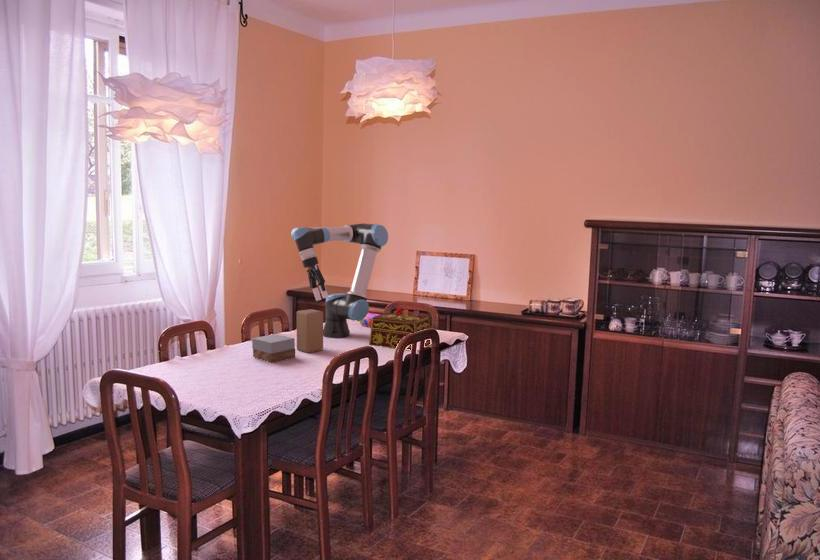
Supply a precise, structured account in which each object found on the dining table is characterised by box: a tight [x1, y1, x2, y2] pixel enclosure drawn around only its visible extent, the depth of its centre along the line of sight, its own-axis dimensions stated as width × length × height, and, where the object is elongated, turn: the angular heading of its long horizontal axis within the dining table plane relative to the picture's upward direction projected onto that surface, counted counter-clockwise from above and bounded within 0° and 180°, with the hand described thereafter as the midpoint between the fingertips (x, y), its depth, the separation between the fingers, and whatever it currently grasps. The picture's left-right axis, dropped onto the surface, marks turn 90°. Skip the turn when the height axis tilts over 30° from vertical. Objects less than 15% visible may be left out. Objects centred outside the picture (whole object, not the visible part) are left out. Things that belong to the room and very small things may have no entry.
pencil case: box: [359, 311, 380, 328], centre depth 389 cm, size 22×9×9 cm, turn 43°
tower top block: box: [251, 333, 296, 354], centre depth 313 cm, size 14×14×5 cm
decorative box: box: [368, 312, 431, 350], centre depth 346 cm, size 28×19×15 cm
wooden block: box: [296, 308, 324, 354], centre depth 329 cm, size 10×10×20 cm
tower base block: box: [252, 348, 296, 364], centre depth 313 cm, size 14×14×5 cm
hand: (322, 299), depth 326 cm, fingers open, 13 cm apart
